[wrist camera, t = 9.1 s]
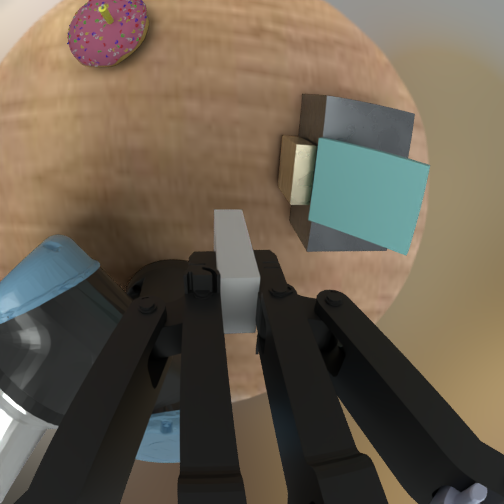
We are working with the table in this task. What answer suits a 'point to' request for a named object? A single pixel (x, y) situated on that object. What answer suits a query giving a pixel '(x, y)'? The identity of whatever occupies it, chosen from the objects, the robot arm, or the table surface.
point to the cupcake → (107, 31)
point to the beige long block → (296, 169)
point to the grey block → (355, 132)
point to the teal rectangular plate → (367, 193)
